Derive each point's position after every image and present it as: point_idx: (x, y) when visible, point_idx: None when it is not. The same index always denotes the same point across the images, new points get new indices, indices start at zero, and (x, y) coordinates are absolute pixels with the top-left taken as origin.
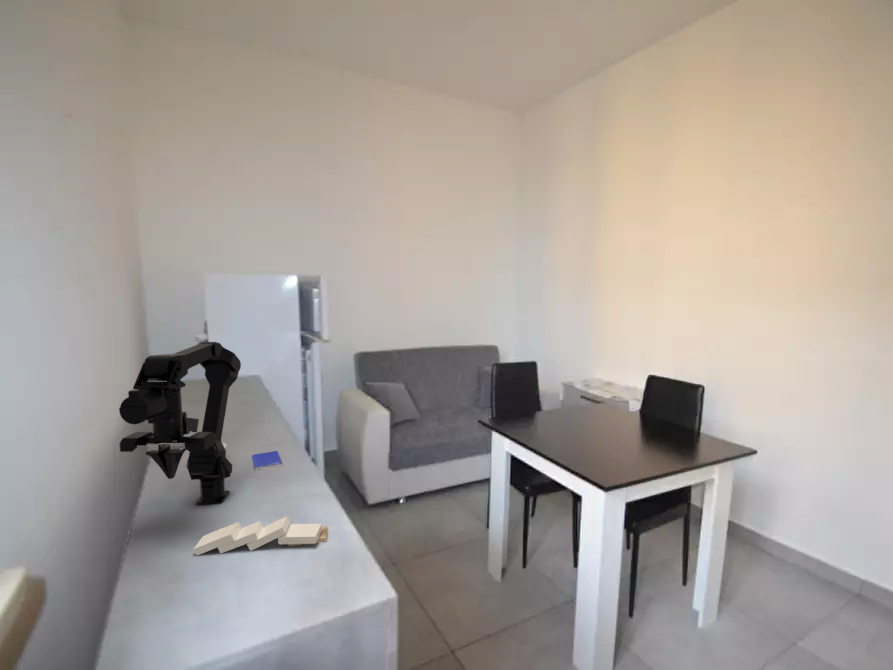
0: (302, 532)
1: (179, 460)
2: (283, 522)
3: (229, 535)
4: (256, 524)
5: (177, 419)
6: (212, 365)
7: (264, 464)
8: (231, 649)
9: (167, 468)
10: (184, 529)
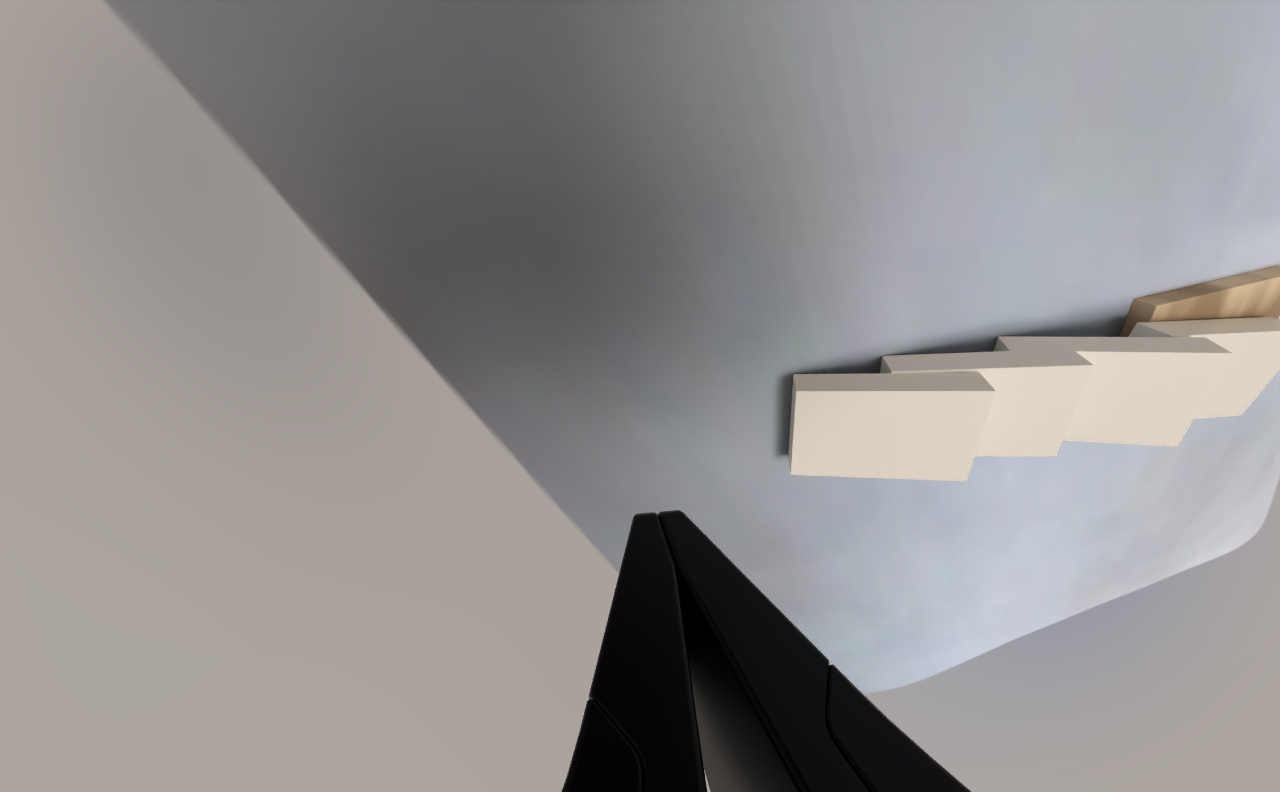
0: (1210, 392)
1: (867, 722)
2: (1194, 407)
3: (957, 478)
4: (1064, 386)
5: None
6: None
7: None
8: (949, 666)
9: (709, 762)
10: (632, 267)
